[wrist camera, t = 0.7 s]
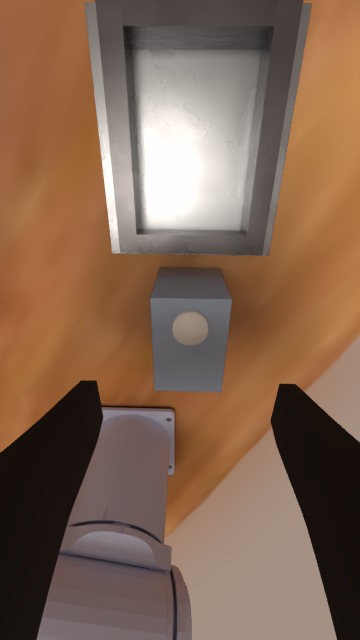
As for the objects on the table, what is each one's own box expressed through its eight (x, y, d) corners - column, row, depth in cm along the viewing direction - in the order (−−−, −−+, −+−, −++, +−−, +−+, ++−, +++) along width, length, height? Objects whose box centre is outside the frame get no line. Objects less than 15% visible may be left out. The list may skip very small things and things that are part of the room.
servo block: (212, 342, 20) (222, 398, 15) (162, 341, 20) (153, 396, 15) (219, 267, 17) (233, 303, 12) (160, 266, 17) (148, 301, 12)
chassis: (266, 253, 17) (278, 264, 14) (114, 251, 17) (103, 261, 15) (307, 10, 12) (336, -32, 9) (88, 9, 12) (65, -33, 9)
